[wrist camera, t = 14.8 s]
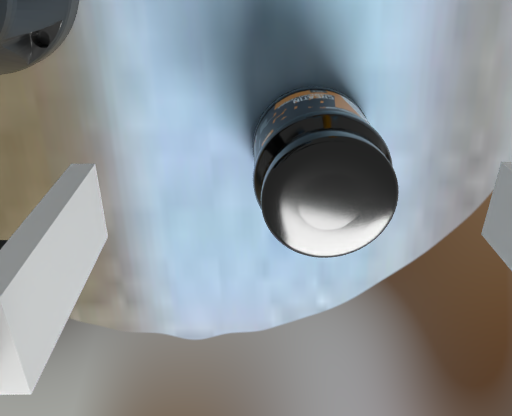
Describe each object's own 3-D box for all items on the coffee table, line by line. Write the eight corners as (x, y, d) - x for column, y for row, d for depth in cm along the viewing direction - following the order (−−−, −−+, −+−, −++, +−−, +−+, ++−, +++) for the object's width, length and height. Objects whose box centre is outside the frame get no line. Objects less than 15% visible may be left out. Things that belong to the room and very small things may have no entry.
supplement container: (377, 86, 41) (422, 133, 30) (357, 194, 46) (390, 267, 35) (255, 79, 40) (258, 125, 30) (249, 189, 45) (249, 262, 35)
